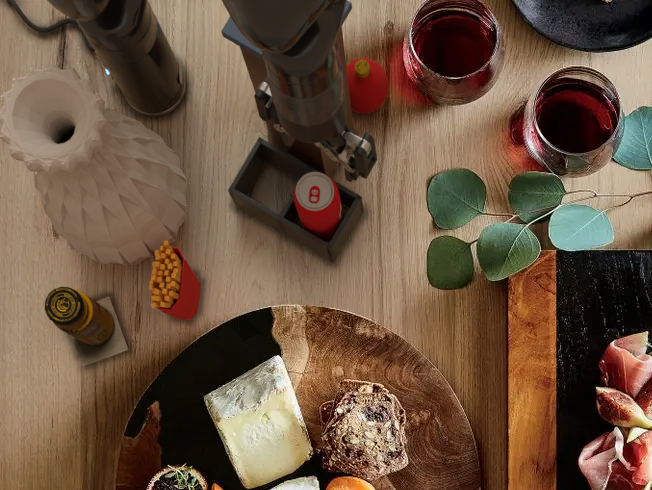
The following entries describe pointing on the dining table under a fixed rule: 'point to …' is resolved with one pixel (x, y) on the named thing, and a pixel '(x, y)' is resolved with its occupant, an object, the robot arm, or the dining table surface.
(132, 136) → the vase
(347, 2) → the gray square slab
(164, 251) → the french fries
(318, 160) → the post
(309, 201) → the beverage can
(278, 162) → the rack
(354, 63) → the christmas ornament
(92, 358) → the condiment
